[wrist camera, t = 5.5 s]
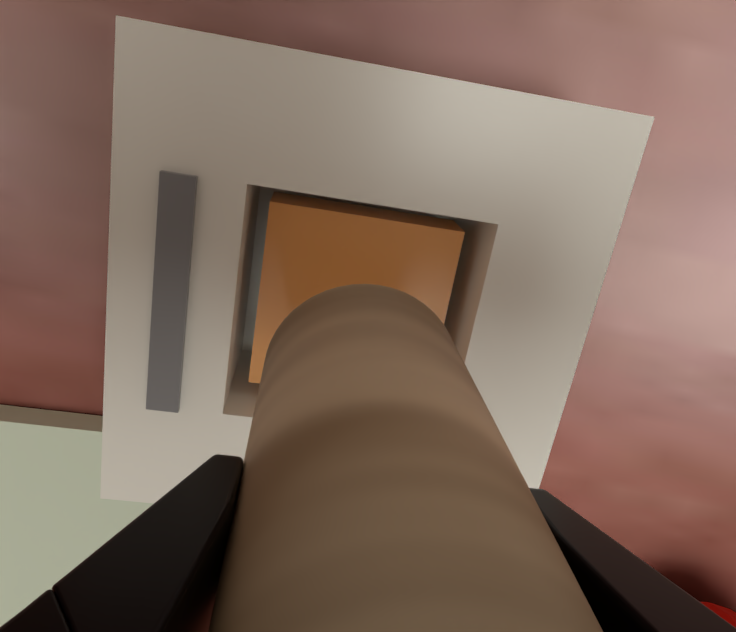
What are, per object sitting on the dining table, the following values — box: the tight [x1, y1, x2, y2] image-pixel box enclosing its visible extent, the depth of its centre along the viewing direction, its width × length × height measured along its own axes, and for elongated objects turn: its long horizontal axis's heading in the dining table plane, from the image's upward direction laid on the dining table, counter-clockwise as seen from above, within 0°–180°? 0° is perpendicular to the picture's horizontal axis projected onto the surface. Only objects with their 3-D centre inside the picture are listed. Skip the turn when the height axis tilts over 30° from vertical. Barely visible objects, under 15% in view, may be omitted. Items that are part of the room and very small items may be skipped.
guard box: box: [100, 15, 654, 503], centre depth 18 cm, size 12×12×5 cm
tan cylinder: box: [208, 284, 603, 632], centre depth 8 cm, size 4×4×10 cm
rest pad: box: [0, 405, 154, 627], centre depth 22 cm, size 9×9×1 cm
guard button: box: [248, 192, 465, 383], centre depth 17 cm, size 5×5×2 cm
